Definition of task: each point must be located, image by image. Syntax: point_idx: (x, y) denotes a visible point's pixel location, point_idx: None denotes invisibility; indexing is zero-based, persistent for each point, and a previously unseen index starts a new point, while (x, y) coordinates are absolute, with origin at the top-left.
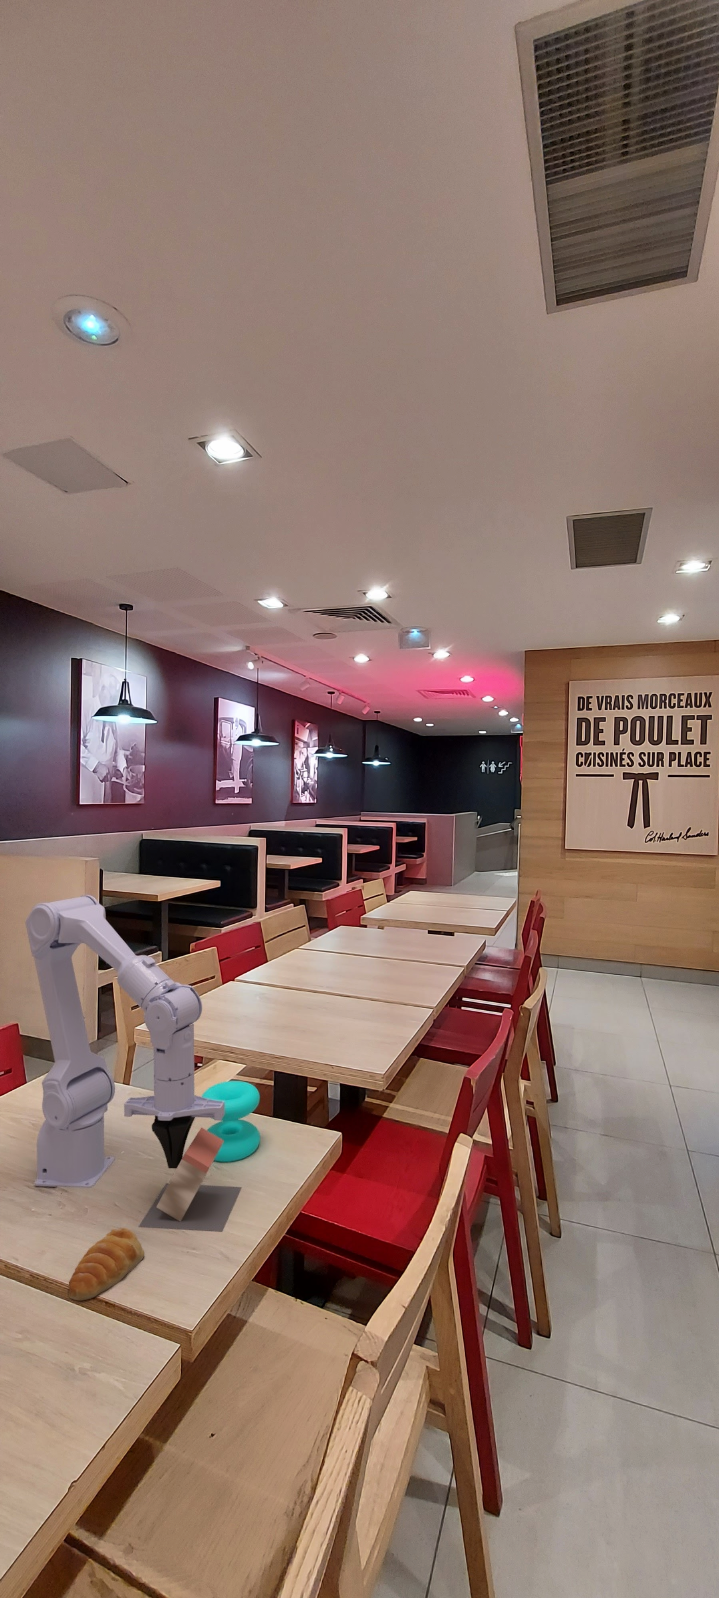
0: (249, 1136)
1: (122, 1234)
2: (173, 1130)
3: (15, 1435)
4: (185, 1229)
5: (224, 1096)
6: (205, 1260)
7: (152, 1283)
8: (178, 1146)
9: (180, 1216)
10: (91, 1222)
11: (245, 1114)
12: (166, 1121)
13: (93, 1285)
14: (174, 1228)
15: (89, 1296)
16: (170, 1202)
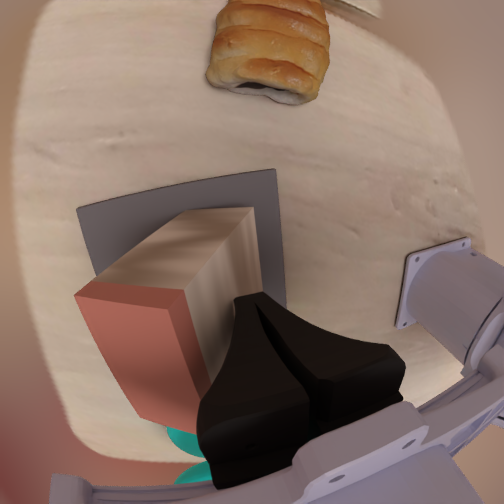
0: (179, 439)
1: (274, 64)
2: (270, 391)
3: None
4: (159, 189)
5: None
6: (73, 124)
7: (153, 33)
8: (236, 345)
9: (186, 214)
10: (374, 172)
11: (179, 476)
12: (342, 419)
13: None
14: (187, 185)
15: None
16: (215, 217)
